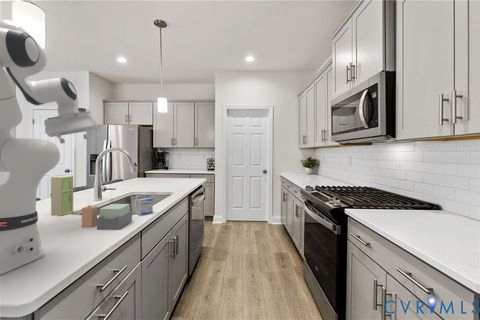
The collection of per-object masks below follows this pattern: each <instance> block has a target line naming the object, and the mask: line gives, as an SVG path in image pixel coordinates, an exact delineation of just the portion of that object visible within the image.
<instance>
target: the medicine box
mask: <svg viewBox="0 0 480 320" xmlns="http://www.w3.org/2000/svg"><path fill="white" fill-rule="evenodd" d="M153 200H154V198H152V197H147V198H146V197H145V198H138V199H135V214H136V215H137V216H145V215H150V214H153V205H154V201H153Z"/></svg>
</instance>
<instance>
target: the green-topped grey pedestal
mask: <svg viewBox="0 0 480 320" xmlns="http://www.w3.org/2000/svg"><path fill="white" fill-rule="evenodd" d="M130 205H131V203H111V204H109V205H106V206H103V207H100V209H99V216H98V217H97V225H96V230H108V231H109V230H110V231H111V230H112V231H113V230H114V231H115V230H116V231H117V230H121V229H122V228H124V227H125V226H127V225H128V224H130V223H131V222H133V211H132V210H131V207H130Z"/></svg>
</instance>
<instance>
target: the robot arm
mask: <svg viewBox="0 0 480 320" xmlns="http://www.w3.org/2000/svg"><path fill="white" fill-rule="evenodd" d="M47 61H48V59H47V55H46V53H45V52H44V49H43V48H42V47H41V46H40V44H39V43H38V42H37V40H36V39H35V38H34V37H32V35H31V34H30V33H29V32H28V31H27V30H26V29H24V28H23V27H22V26H21V25H19V24H18V23H17V22H14V21H12V20H9V19H0V172H3V173H4V172H7V173H8V172H9V176H8V179H7V180H6V181H5V182H4V183H2V184H0V276H1V275H4V274H6V273H9V272H11V271H13V270H15V269H17V268H20V267H22V266H24V265H27V264H29V263H32V262H33V261H36V260H39V259H40V258H42V257H45V255H46V252H45V251H44V250H43V249H42V248H43V246H42V239H41V232H40V230H39V228H38V225H37V222H38V221H39V220H38V218H39V214H38V211H37V194H38V193H37V192H38V187H39V184H40V182H41V181H42V179H43V178H44V177H45V175H47V173H49V172H50V171H51V170H53V169H54V168H55V167H57V165H58V164H59V162H60V159H61V153H60V149H59V148H58V146H57V144H56V143H54V142H52V141H49V140H44V139H39V138H21V137H20V138H18V137H17V138H15V137H13V136H12V135H11V130H13V129H14V128H16V127H18V126H19V125H20V124H21V123H22V120H23V114H22V113H23V112H22V110H21V108H20V104H19V101H18V98H17V96H16V92H15V90H14V87H13V85H12V83H11V81H10V79H11V80H12V81H13V82H14V84H15V85H16V87H17V88H18V89H19V90H20V92H21V93H22V95H23V97H24V99H25V100H26V101H27V102H28V103H30V104H32V105H34V106H41V105H45V104H49V103H54V102H56V104H57V113H58V114H57V115H58V116H53V117H47V118H45V120H43V121H44V129H45V130H44V131H45V132H44V133H45V134H46V135H47V136H48V137H49V138H53V137H55V138H56V137H57V139H58V140H59V143H60V144H65V143H66V140H65V138H64V137H62V136H65V135H70V134H71V135H72V134H78V133H84V132H85V133H84V134H83V136H82V137H83V139H84V140H89V135H90V131H95V130H97V129H98V125H97V124H98V123H97V122H96V120H95V118H94V116H93V114H92V112H91V110H90V109H89V108H87V107H80V106H79V98H78V93H77V90H76V88H75V86H74V84H73V83H72V82H71V81H70V80H69V79H66V78H65V77H61V76H60V77H53V78H48V79H41V80H29V77H30V76H34V75H38V74H39V73H41V72H42V71H43V70H44V69H45V67H46V66H47ZM4 68H5V69H4ZM5 70H6V72H7V73H6V72H5ZM7 74H8V75H7ZM8 76H9V77H8ZM9 78H10V79H9Z"/></svg>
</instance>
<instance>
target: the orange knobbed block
mask: <svg viewBox="0 0 480 320" xmlns="http://www.w3.org/2000/svg"><path fill="white" fill-rule="evenodd" d="M97 218H98V206H97V205H91V204H89V205H86V206H83V207H81V228H82V229H85V228H87V229H90V228H94V227H97Z"/></svg>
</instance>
